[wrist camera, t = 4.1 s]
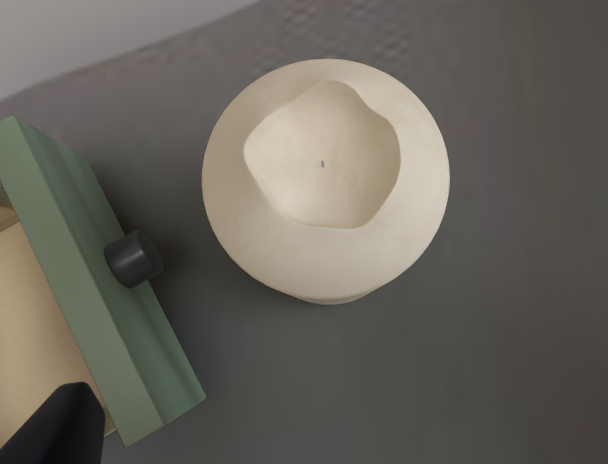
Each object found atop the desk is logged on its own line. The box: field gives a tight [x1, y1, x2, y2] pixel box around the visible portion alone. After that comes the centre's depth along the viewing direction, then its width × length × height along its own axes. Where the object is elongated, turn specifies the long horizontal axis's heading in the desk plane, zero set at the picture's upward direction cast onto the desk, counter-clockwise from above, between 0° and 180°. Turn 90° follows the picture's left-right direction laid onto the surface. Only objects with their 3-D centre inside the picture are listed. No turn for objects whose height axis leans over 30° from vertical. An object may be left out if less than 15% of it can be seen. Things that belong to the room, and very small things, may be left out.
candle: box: [202, 59, 450, 305], centre depth 15 cm, size 6×6×10 cm
